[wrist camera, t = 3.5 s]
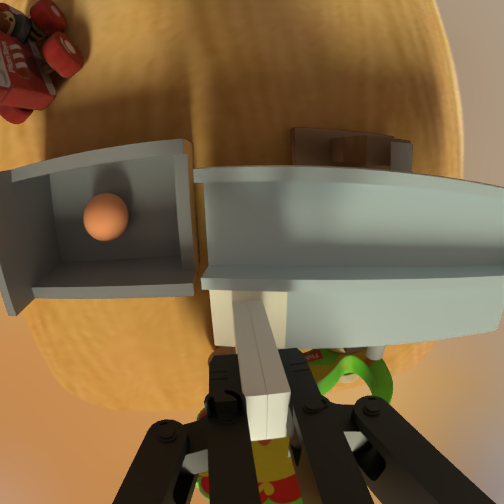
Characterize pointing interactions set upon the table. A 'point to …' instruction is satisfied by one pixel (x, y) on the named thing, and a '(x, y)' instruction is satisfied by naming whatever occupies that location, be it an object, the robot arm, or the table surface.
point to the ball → (106, 217)
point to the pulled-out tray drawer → (82, 243)
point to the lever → (353, 253)
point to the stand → (341, 154)
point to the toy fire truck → (32, 58)
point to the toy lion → (276, 450)
